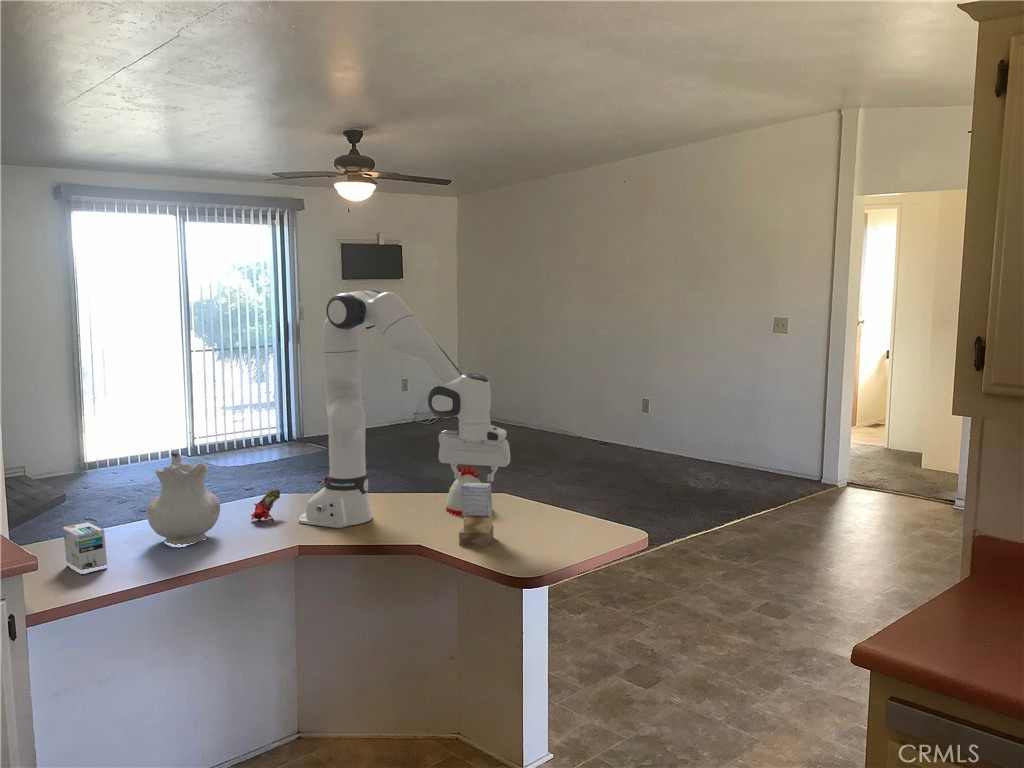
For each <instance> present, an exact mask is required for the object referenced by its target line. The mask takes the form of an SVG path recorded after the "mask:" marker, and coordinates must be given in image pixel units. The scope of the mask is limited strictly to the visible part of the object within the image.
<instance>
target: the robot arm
mask: <svg viewBox="0 0 1024 768" xmlns="http://www.w3.org/2000/svg"><path fill="white" fill-rule="evenodd" d="M374 327H375V328H377V330H378V332H379V334H380V335H381V336H382V338H383V339H384V342H386V344H387V345H388V346H389V348H390V349H391V350H392V351H393V352H394V353H395V354H396V355H399V356H401V357H404V358H409V359H412V360H416V361H418V362H421V363H422V364H424V365H426V366H427V367H428V368H429V369H430V370H431V371H432V372H433V374H434V375H435V376H436V377H437V379H438V380H439V381H440V382H441V384H439V385H436V386H434V387H433V388H431V390H430V391H429V393H428V396H427V405H428V409H429V410H430V412H431V414H433V415H434V416H435V417H437V418H440V419H448V418H452V417H457V418H458V430H448V429H445V430H443V431H441V432H440V433H439V434H438V443H439V450H438V461H439V462H440V463H441V464H450V468H451V470H452V471H453V474H454V480H456V479H461V472H458V468H457V467H458V465H468V466H469V465H470V466H486V467H490V469H491V470H492V471H491V473H488V474H487V475H486V478H487V479H486V482H492V483H493V482H494V478H495V476H494V475H495V473H496V472H497V470H498V468H499V467H500V468H506V467H508V465H509V464H510V463H511V449H510V444H509V441H508V440H507V439H506V437H507V430H506V429H504V428H501V427H497V426H495V425H493V424H492V423H491V417H490V410H491V407H492V406H491V405H492V402H491V400H492V396H491V394H492V393H491V384H490V381H489V379H488V377H486V376H485V375H483V374H480V373H474V372H473V373H472V372H466V373H462V372H461V371H460V370H459V368H458V367H457V366H456V365H455V363H454V362H453V361H452V359H451V358H450V357H449V356H448V355H447V353H446V352H445V350H443V348H442V347H441V346H440V345H439V344H438V343H437V342H436V341H435V339H433V337H432V336H431V335H430V334H429V333H428V332H427V331H426V330H425V328H424V327H423V326H422V324H421V323H420V321H419V320H418V319H417V317H416V316H415V314H414V313H413V311H412V310H411V309H410V307H409V306H408V305H407V304H406V303H405V302H404V300H403V299H402V298H400V296H399V295H398V294H396V293H395V292H392V291H384V292H381V291H379V290H355V291H350V292H341V293H338V294H336V295H334V296H332V297H331V298H329V301H328V302H327V304H326V318H325V320H324V322H323V327H322V336H321V337H322V339H321V341H322V343H321V345H322V346H321V347H322V359H323V360H322V361H323V372H324V373H323V376H324V386H325V387H324V392H325V393H324V394H325V405H326V406H325V408H326V415H327V427H328V459H329V460H328V465H329V473H328V474H327V475H326V476H324V478H323V479H322V480H321V481H322V484H324V487H322V489H321V490H319V491H318V492H316V493H315V494H314V495H313V496H312V497H311V498H309V500H308V501H307V505H306V509H305V510H306V511H305V512H304V513H302V514H301V515H300V516H299V518H298V523H299V524H302V525H303V524H304V525H312V526H319V527H327V528H328V527H329V528H334V529H335V528H336V529H340V528H345V527H349V526H354V525H360V524H365V523H367V522H369V521H371V520H373V518H374V515H373V513H372V510H371V506H370V503H369V502H370V501H369V495H368V491H369V479H368V473H367V470H366V469H367V466H366V464H367V463H366V411H365V408H364V406H363V398H362V397H363V396H362V366H361V365H362V364H361V363H362V362H361V353H360V352H361V351H360V350H361V349H360V333H361V332H362V330H364V329H366V330H369V329H372V328H374Z"/></svg>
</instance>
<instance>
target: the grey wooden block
mask: <svg viewBox="0 0 1024 768" xmlns="http://www.w3.org/2000/svg"><path fill="white" fill-rule="evenodd" d="M492 497H493V496H492V483H490V482H489V483H488V482H487V483H486V482H485V483H484V482H481V483H465V484H464V485H463V486H462V487H461V499H462V516H461V517H465V516H490V514H491V513H492V514H493V498H492Z"/></svg>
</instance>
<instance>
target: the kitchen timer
mask: <svg viewBox="0 0 1024 768" xmlns="http://www.w3.org/2000/svg"><path fill="white" fill-rule="evenodd" d="M463 465H464V466H463V469H461V466H460V465H457V467H458V468H457V470H458V472H461V479H454V482H453V483H452V485H451V486H450V487H448V495H447V498H446V504H445V508H446V512H447V513H448V512H449V513H448V514H450V513H452V514H451V515H453V514H456V515H455V516H458V515H462V499H461V487H462V486H463V485H464V484H465V483H482V482H481V481H480V480H479V478H478V476H479V475H480V474H479V473H480V471H479V470H478V472H476V474H475V471H476V468H475V467H473V468H472V469H471V465H468V467H467V468H466V464H463Z"/></svg>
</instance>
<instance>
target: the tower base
mask: <svg viewBox="0 0 1024 768" xmlns="http://www.w3.org/2000/svg"><path fill="white" fill-rule="evenodd" d="M493 539H494V525H493V524H492V527H491V529H490V531H489V533H464V526H463V527H462V528H461V530H459V531H458V542H459V543H458V546H465V545H476V546H475V547H481V546H486V548H487V547H488V546H489V545H490V543H491V542H492V540H493ZM488 544H489V545H488Z"/></svg>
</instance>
